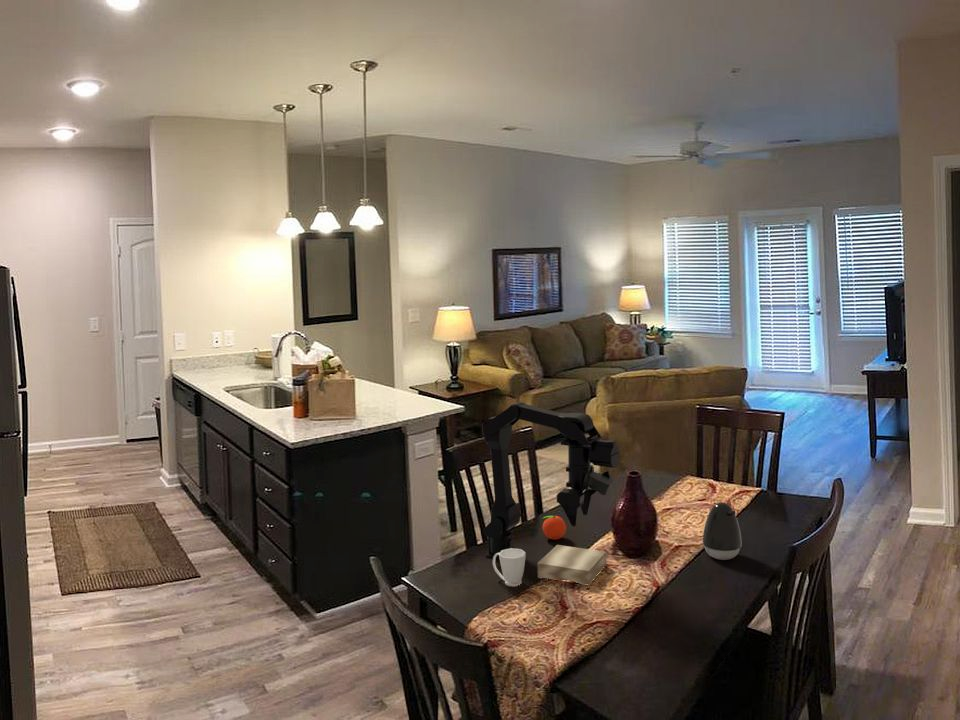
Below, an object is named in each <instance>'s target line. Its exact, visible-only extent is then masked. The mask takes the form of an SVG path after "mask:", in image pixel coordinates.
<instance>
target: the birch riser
mask: <svg viewBox="0 0 960 720" xmlns="http://www.w3.org/2000/svg"><path fill="white" fill-rule="evenodd" d="M536 565H537V567H536V568H537V578H538V579H542V578H547V579H546V580H548V578H549V579H559V580H571V581H574V582H576V583H581V584H588V585H589V584H590V583H591V581H592V580H593V579H594V578H595V577H596V575H597V574H598V573H599V572H600V571H601V569H603V567H604V566H605V565H606V566H607V552H606V551H605V550H603V551H602V550H597V549H596V550H594V549H589V548H582V547H575V546H569V545H568V546H567V545H561V544H556V545H555V547H553V548H552V549H550V551H549V552H548V553H547V554H546V555H544V556H543V557H542V558H541V559H540V560H539V561H538V562H537V563H536ZM603 570H604V569H603ZM596 578H597V577H596ZM591 584H592V583H591ZM591 584H590V585H591Z"/></svg>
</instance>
